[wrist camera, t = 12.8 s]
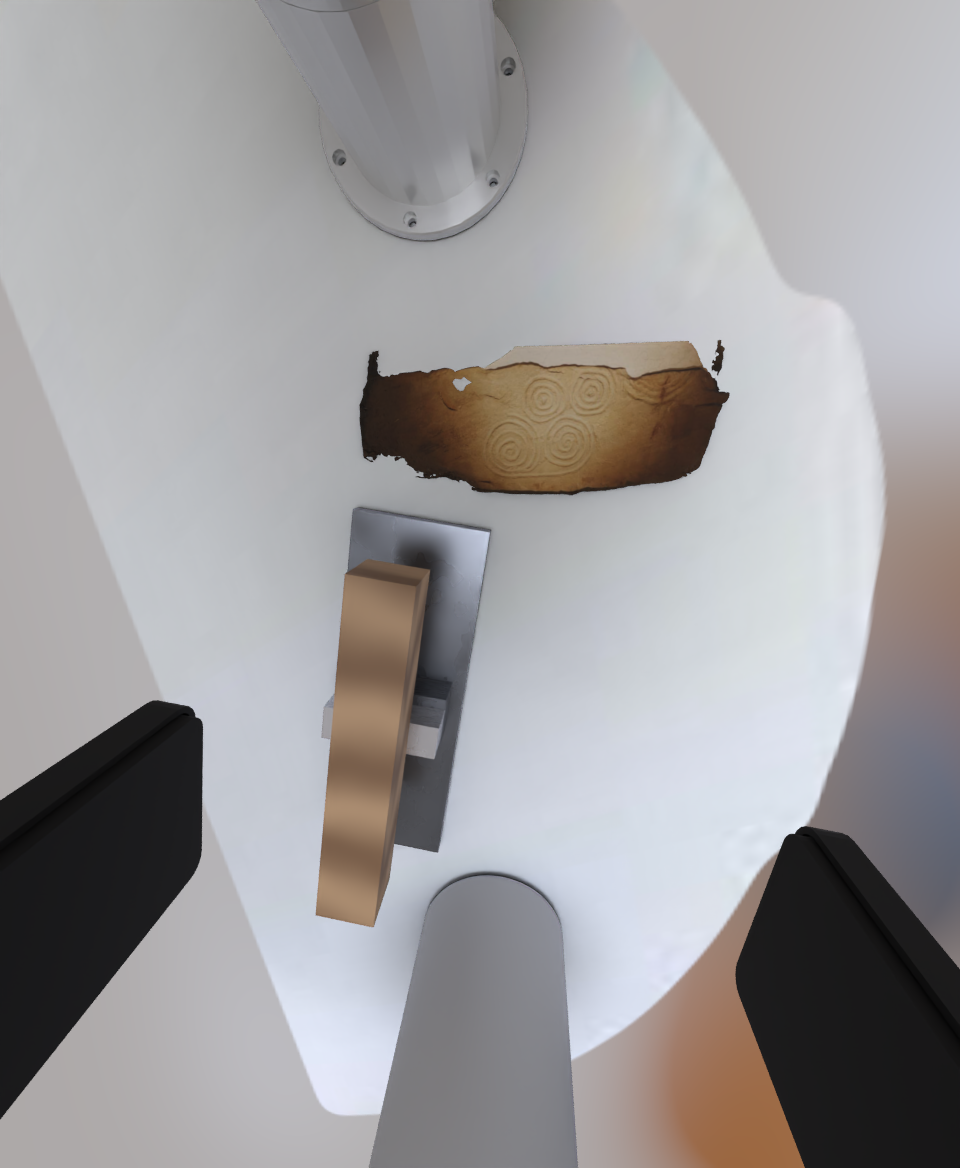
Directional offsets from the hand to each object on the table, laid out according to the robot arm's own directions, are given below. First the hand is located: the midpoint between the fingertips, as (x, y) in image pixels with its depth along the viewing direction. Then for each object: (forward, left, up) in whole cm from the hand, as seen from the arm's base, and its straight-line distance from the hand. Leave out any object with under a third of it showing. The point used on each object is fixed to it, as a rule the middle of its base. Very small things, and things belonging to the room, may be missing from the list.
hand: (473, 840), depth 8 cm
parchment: (-8, 0, -31) cm, 32 cm away
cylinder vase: (+36, +4, -31) cm, 47 cm away
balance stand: (+14, -7, -30) cm, 34 cm away
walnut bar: (+14, -7, -24) cm, 28 cm away
